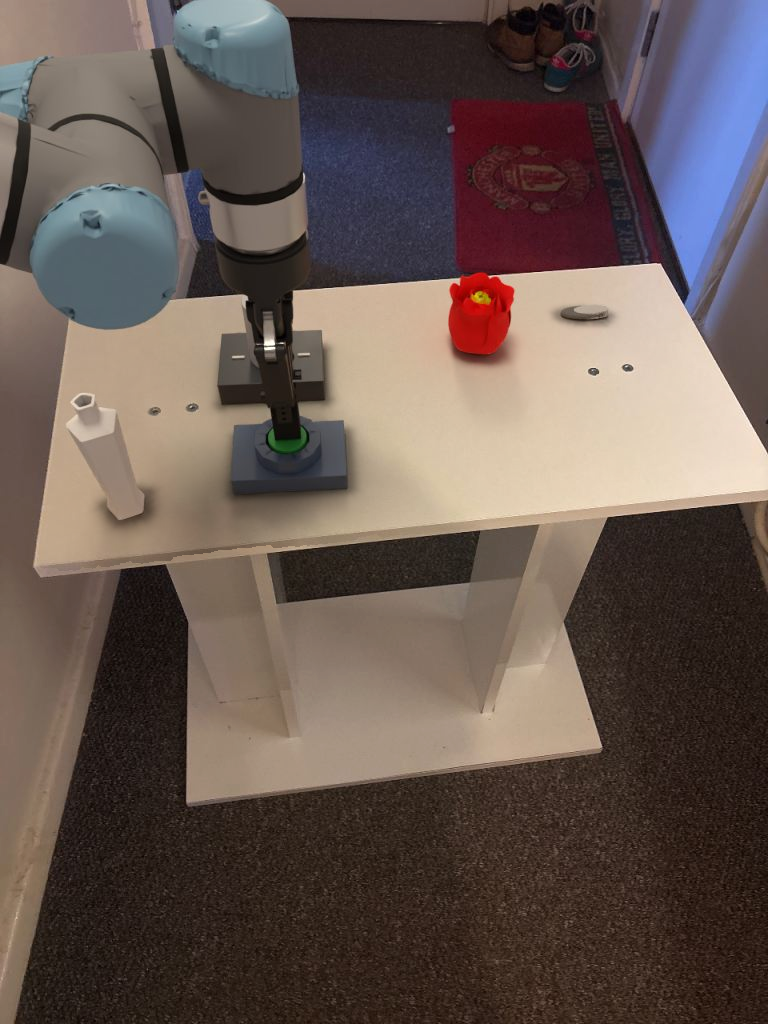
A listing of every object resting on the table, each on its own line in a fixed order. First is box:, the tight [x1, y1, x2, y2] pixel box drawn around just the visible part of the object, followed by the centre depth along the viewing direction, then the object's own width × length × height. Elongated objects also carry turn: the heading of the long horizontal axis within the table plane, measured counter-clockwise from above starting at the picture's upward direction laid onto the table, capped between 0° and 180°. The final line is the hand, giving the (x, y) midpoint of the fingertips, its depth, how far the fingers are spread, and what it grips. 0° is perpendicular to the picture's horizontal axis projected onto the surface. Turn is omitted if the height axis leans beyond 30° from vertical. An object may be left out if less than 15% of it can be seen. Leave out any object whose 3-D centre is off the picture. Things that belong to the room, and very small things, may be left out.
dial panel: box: [217, 329, 326, 405], centre depth 89 cm, size 12×9×3 cm
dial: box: [240, 294, 259, 368], centre depth 85 cm, size 5×5×8 cm
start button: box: [268, 427, 307, 455], centre depth 79 cm, size 4×4×2 cm
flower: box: [447, 272, 515, 355], centre depth 91 cm, size 8×8×8 cm
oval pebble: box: [560, 304, 610, 320], centre depth 98 cm, size 6×2×1 cm, turn 87°
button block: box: [230, 414, 348, 495], centre depth 80 cm, size 12×8×4 cm, turn 94°
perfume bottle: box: [65, 392, 146, 521], centre depth 72 cm, size 5×4×15 cm
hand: (288, 434), depth 78 cm, fingers closed
